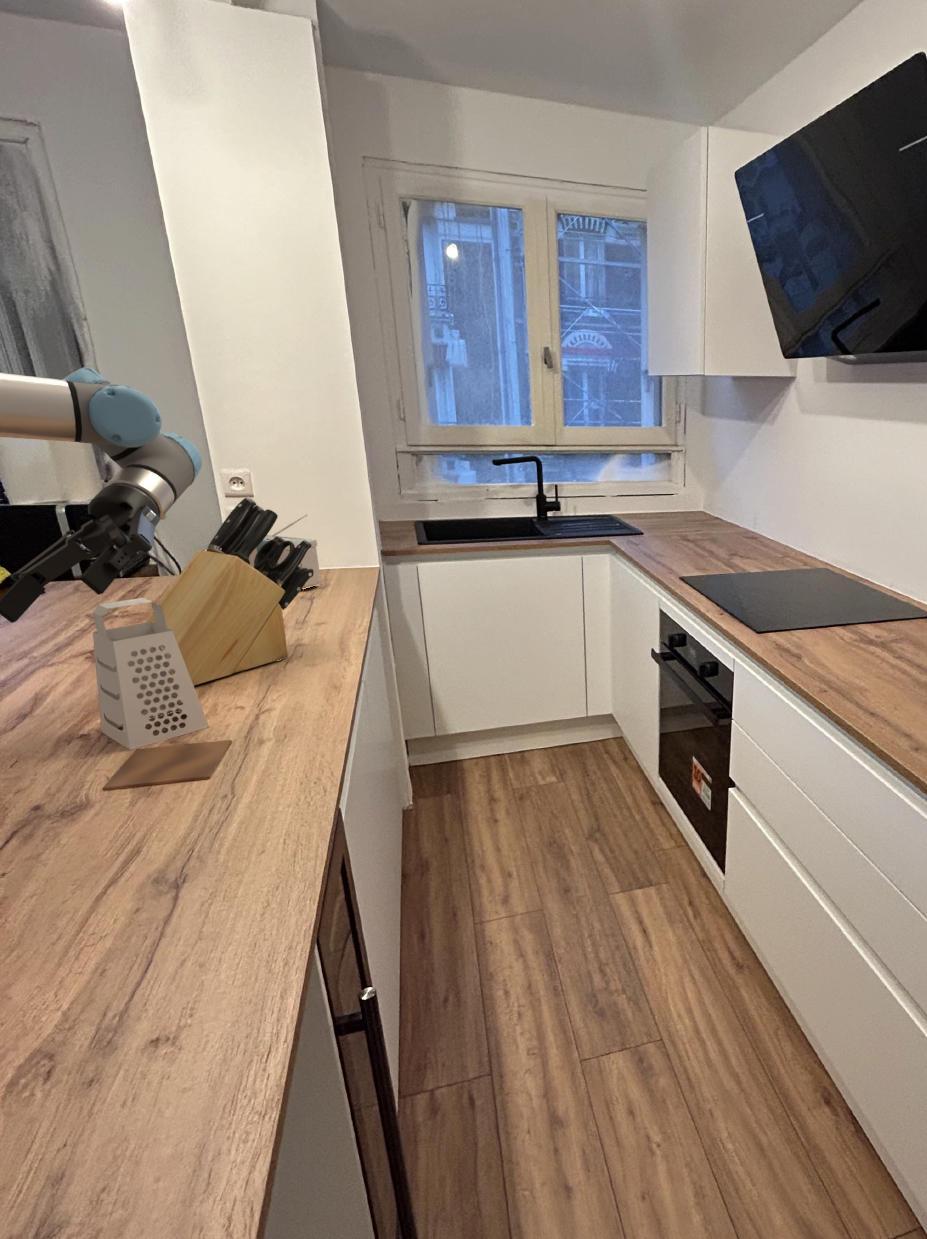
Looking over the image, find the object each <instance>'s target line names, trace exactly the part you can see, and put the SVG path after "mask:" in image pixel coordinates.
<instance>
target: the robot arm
mask: <svg viewBox="0 0 927 1239" xmlns="http://www.w3.org/2000/svg"><path fill="white" fill-rule="evenodd" d="M162 421H163V419H162V416H161V413H160V411H159V408H158V407H157V405H156V404H155V403H154V401H153V400H152V399H151V398H150V397H149V396H147V394H145V393H143V392H141V391H139V390H138V389H135V388H133V387H131V386H128V385H123V384H111V382H110V381H109V380H107V379H105V378H104V377H103V376H102V375H101V374H100V373H99V372H97V371H96V370H95V369H93V368H92V367H89V366H84V367H81V368H79V369H77V370H75V371H73V372H71V373H70V374H68V375H66V376H65V377H64V378H62V379H57V378H49V377H40V376H32V375H31V376H30V375H24V374H15V373H6V372H0V438H11V439H12V438H13V439H26V440H41V441H56V442H70V443H71V442H72V443H80V444H93V445H95V446H96V447H98V448H99V449H100V450H101V451H102V452H104V453H105V455H107V456H108V457H109V459H111V460H112V462H114V463H115V464H116V465H118V467H120V468H121V469H120V470H119V471H118V472H116V474H115V475H114V476H113V477H111V479H110V480H109V481H107V483H106V484H105V485H104V487H103V488H101V489H100V491H99V492H98V493H97V494H95V496H94V497H93V498H92V499H91V500H89V503H88V505H87V513H88V515H89V521H87V522H85V523H84V524H82V525H81V527H80V529H78V530H76V531H74V530H73V529H70V530H67V531H66V532H65V533H64V535H63V536H61V537H60V538H59V539H58V540H57V541H56V542H54V543H53V544H52V545H50V546H49V547H47V548H46V549H45V550H44V551H42V552H41V553H40V554H39V555H37V556H35V557H34V558H33V559H32V560H30V561H29V562H28V563H26V564H25V565H24V566H22V567H21V568H19V569H18V570H17V571H15V572H13V573H12V575H11V576H10V579H12V580H14V583H13V584H12V585H11V586H10V587H9V588H8V589H7V590H6V591H5V593H4V594H2V595H1V597H0V616H2V617H3V618H4V619H6V621H9V623H11V624H12V623H17V621H18V620H20V618H21V617H22V616H23V615H24V613H25V612H27V611H28V609H29V608H30V607H32V605H33V604H34V603H35V602H36V600H37V599H38V598H39V597H40V596H41V595H45V594H46V593H47V592H46V591H45V590H46V588H45V587H46V586H47V585H48V584H49V583H51V582H52V581H54V580H55V579H57V578H59V577H60V576H62V575H63V574H64V573H66V572H67V571H69V570H70V569H72V568H73V567H75V566H76V565H78V564H79V563H80V562H82V561H83V560H87V561H90V560H92V559H93V558H95V557H96V558H95V559H94V560H93V562H92V563H91V564H90V565H89V566H88V567H87V568H86V569H85V570H84V572H83V573H82V574H81V575H80V577H78V579H79V580H80V581H81V582H82V583H84V584H85V585H86V586H87V587H88V588H90V589H91V590H92V591H93V592H94V593H95V594H96V595H98V596H99V595H102V594H104V593H105V592H106V591H107V589H108V588H109V587H110V586H111V584H112V583H113V582H114V580H116V579H117V577H118V576H119V575H120V573H121V572H122V571H123V570H124V569H125V567H126V566H127V565H128V564H129V563H130V560H133V559H136V558H137V557H138V556H139V555H140V553H139V552H140V551H142V552H143V553H148V552H150V551H151V550H152V549H153V547H154V540H155V532H156V528H157V526H158V524H159V522H160V521H161V520H163V521H164V520H166V518H168V517H167V516H168V515H167V513H168V511H169V510H170V509H171V508H172V507H173V505H174V504H175V503H176V501H177V500H178V499H179V498H180V497H181V496H182V495H183V493H184V492H185V491H187V489H188V488H189V487H190V486H191V485H192V484H194V482H195V480H196V478H197V476H198V475H199V473H200V471H201V469H202V465H203V460H202V456H201V453H200V451H199V450H198V448H197V447H196V446H195V445H194V443H192V442H191V441H190V440H189V439H186V438H184V437H181V436H180V435H179V434H177V433H173V432H168V431H165V432H161V429H162ZM114 546H115V547H114ZM86 548H87V549H88V550H89V552H87V551H86Z"/></svg>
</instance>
